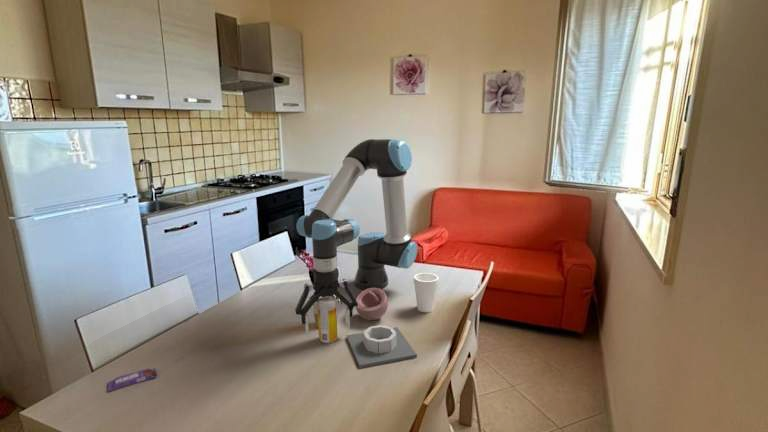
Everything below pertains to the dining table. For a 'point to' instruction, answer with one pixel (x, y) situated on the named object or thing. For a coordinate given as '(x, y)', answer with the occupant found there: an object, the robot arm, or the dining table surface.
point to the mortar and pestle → (372, 303)
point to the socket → (380, 346)
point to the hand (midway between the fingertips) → (327, 329)
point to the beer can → (327, 319)
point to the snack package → (132, 379)
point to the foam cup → (425, 291)
